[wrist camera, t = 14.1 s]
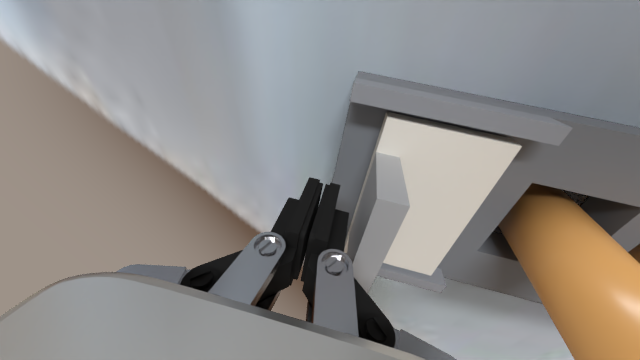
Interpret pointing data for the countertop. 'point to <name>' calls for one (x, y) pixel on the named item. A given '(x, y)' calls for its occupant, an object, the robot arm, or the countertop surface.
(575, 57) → the countertop surface
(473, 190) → the lid
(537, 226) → the orange rounded capsule
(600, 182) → the housing
